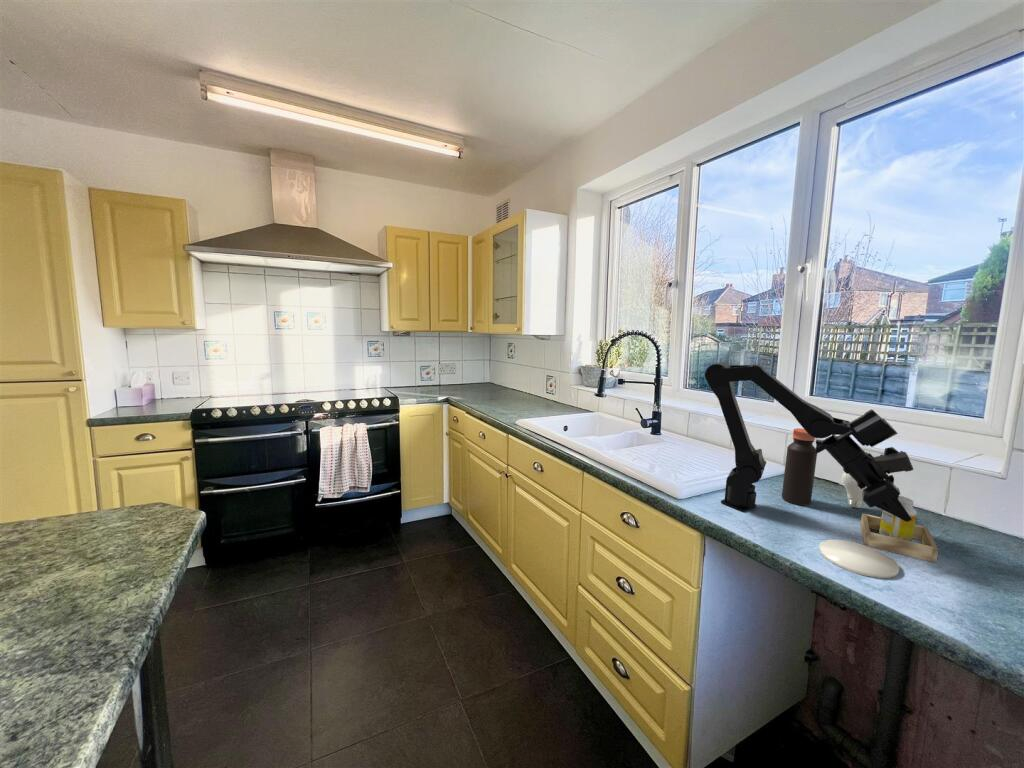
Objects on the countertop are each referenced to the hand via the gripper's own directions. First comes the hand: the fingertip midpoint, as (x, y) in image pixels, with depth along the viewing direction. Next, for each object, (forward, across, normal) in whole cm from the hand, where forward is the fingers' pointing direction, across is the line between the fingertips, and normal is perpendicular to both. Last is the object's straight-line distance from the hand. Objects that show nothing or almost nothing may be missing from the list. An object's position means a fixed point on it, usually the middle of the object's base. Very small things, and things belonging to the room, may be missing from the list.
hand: (907, 515), depth 94 cm
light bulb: (0, +17, +10) cm, 20 cm away
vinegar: (-9, +13, +20) cm, 25 cm away
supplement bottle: (+4, 0, +6) cm, 7 cm away
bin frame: (+4, 0, +6) cm, 7 cm away
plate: (-1, -14, +11) cm, 18 cm away
